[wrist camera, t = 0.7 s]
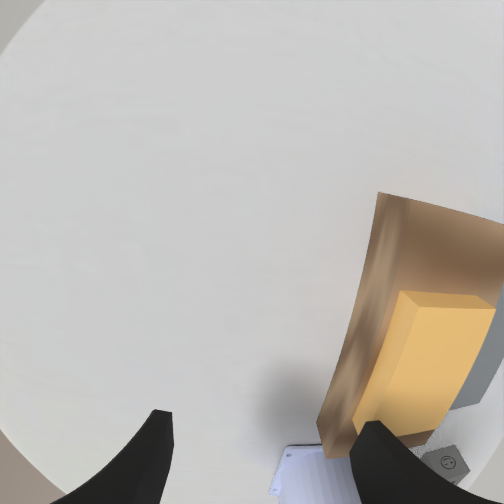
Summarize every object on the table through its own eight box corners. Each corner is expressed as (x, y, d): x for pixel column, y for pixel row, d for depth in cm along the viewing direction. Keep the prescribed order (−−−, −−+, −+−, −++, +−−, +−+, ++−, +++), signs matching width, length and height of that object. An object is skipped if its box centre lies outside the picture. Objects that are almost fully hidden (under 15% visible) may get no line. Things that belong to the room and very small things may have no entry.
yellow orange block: (425, 410, 16) (436, 428, 14) (352, 419, 16) (360, 441, 14) (476, 295, 14) (496, 309, 12) (400, 290, 14) (418, 306, 12)
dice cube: (454, 444, 24) (470, 470, 19) (435, 467, 26) (448, 493, 21) (424, 452, 24) (440, 482, 19) (406, 475, 25) (418, 503, 20)
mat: (477, 400, 22) (479, 402, 22) (399, 416, 21) (400, 418, 21) (540, 237, 17) (543, 238, 17) (471, 214, 17) (474, 215, 16)
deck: (408, 414, 22) (424, 444, 18) (316, 422, 21) (325, 459, 17) (479, 217, 17) (516, 229, 13) (378, 192, 16) (411, 199, 13)
